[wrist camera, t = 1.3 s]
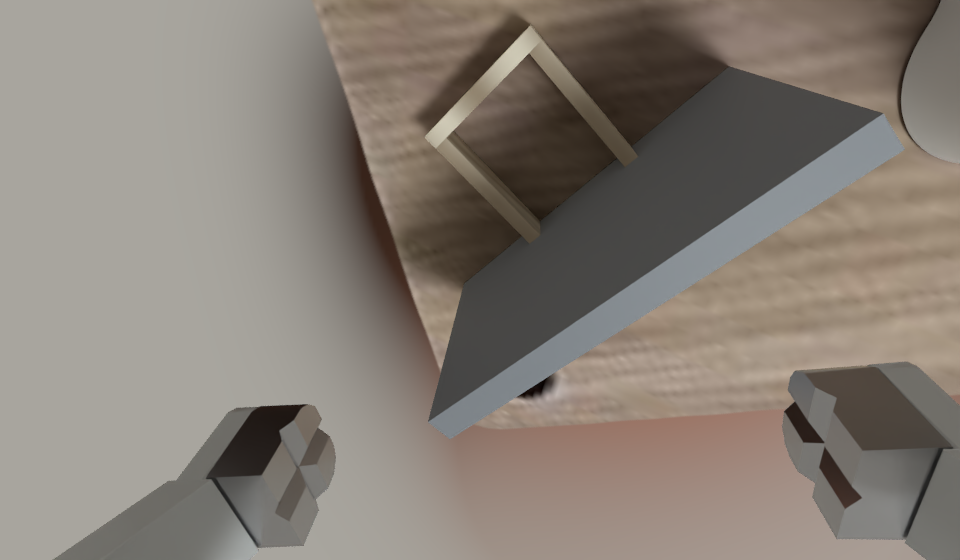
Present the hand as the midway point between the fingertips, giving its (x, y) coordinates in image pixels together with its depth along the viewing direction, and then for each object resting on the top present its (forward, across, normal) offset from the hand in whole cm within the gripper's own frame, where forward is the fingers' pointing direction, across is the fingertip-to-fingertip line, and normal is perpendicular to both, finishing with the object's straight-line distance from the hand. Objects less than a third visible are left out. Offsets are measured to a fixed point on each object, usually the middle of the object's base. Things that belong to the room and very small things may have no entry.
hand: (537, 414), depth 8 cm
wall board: (+34, -3, +9) cm, 35 cm away
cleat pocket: (+34, 0, +4) cm, 34 cm away
